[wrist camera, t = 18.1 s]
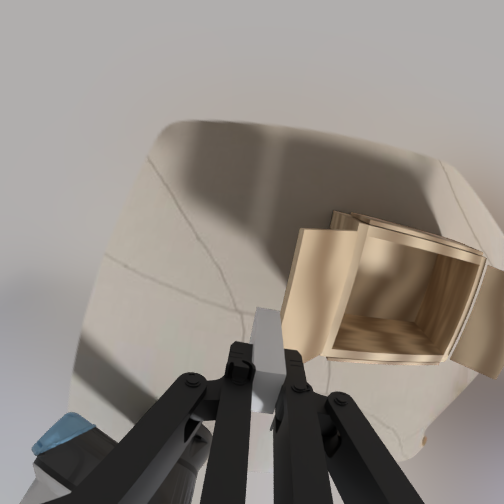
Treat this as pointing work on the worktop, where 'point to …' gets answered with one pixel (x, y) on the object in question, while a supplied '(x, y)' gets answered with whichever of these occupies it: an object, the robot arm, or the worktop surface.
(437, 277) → the carton
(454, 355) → the flap
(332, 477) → the robot arm
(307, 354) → the flap
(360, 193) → the worktop surface
